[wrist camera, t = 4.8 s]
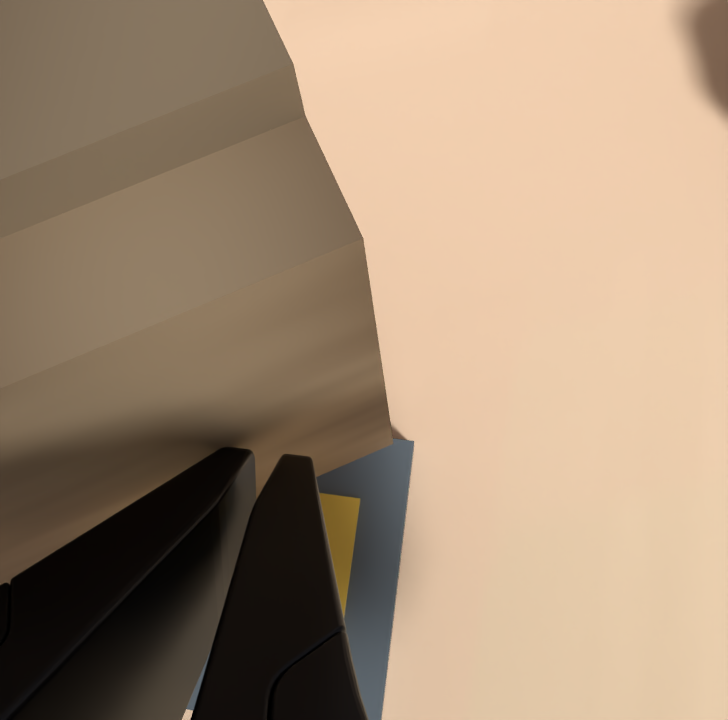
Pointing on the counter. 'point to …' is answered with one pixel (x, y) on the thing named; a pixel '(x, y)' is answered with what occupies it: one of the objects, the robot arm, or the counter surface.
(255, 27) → the brown wooden block
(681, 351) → the counter surface
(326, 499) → the label plaque
